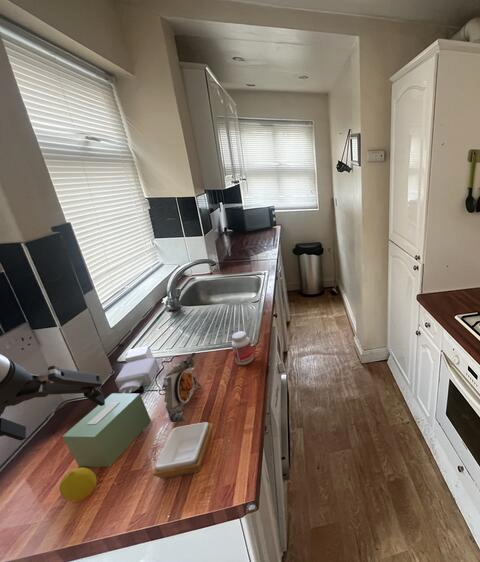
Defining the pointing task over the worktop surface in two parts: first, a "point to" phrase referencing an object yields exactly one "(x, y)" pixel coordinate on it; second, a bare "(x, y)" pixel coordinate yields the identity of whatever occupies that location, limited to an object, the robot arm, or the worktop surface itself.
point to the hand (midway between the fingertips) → (64, 416)
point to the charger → (136, 374)
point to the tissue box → (107, 430)
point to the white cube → (138, 354)
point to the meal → (179, 388)
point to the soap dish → (183, 450)
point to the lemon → (78, 484)
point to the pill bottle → (242, 348)
